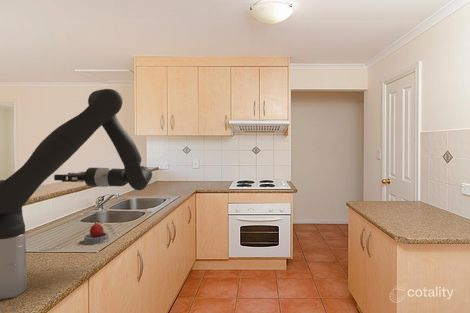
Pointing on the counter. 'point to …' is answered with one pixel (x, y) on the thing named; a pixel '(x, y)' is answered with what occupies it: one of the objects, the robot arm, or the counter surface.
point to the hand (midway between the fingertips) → (61, 176)
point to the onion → (96, 230)
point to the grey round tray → (96, 239)
